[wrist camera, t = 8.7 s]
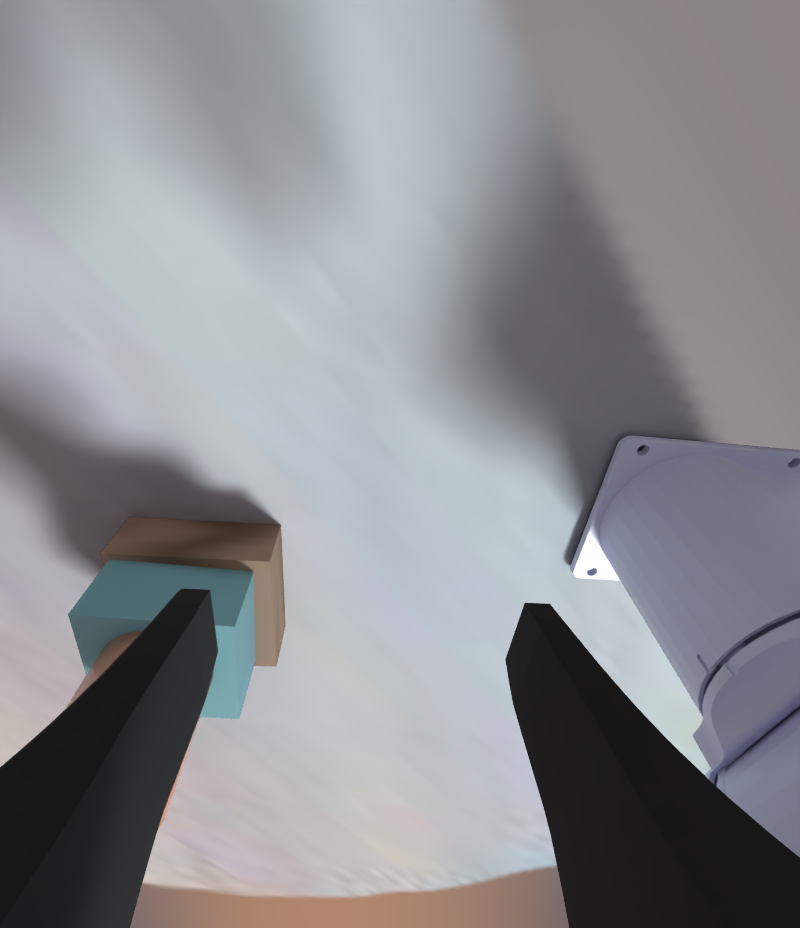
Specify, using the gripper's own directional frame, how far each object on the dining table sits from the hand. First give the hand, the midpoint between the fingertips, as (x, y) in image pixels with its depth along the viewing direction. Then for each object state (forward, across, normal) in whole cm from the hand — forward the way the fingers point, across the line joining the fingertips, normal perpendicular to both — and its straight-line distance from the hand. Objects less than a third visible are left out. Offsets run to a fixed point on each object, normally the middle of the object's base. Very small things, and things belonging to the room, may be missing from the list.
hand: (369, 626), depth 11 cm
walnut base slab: (+11, +7, +9) cm, 16 cm away
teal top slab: (+8, +8, +9) cm, 14 cm away
